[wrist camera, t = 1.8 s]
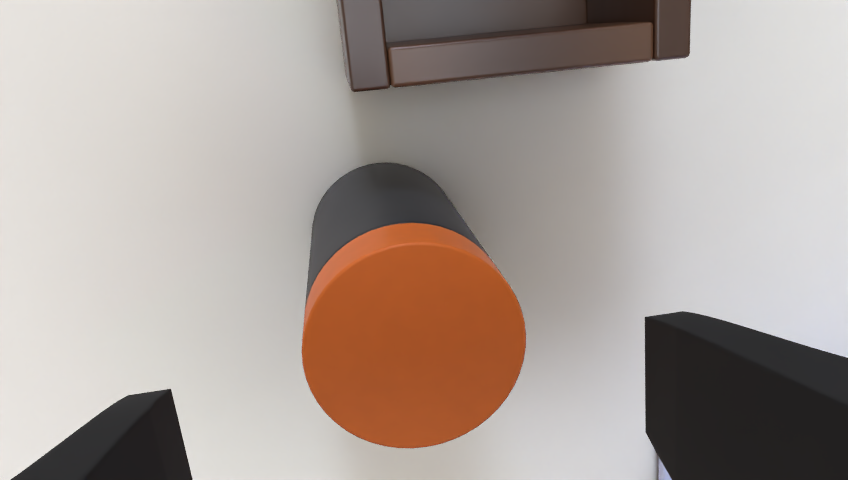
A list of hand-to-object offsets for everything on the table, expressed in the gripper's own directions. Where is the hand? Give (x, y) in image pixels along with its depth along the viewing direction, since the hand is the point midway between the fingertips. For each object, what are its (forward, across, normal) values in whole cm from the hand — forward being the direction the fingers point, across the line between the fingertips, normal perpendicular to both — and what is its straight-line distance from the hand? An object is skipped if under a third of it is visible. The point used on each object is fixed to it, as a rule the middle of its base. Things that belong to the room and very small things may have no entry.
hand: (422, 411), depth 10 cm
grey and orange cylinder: (+9, 0, 0) cm, 9 cm away
